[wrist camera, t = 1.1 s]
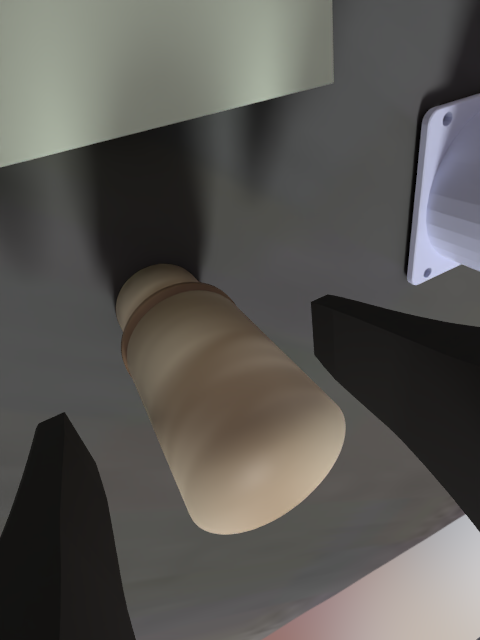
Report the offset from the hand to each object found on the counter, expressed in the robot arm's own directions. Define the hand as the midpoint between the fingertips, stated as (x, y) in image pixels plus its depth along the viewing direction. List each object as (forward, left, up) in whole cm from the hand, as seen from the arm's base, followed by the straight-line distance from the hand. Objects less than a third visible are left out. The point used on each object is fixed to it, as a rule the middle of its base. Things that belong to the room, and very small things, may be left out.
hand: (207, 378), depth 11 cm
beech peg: (0, 0, -5) cm, 5 cm away
